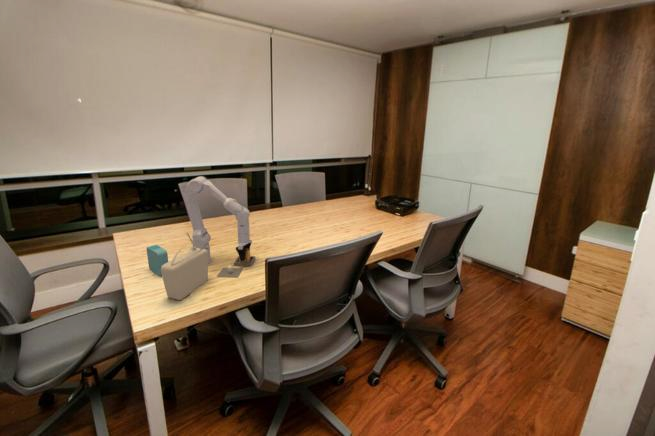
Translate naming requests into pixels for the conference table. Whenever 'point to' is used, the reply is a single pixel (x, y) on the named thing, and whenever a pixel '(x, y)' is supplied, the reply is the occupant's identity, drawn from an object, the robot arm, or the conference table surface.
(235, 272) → the stud plate
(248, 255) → the orange brown block
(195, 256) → the radio
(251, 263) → the tray
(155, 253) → the data package
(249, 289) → the conference table surface
